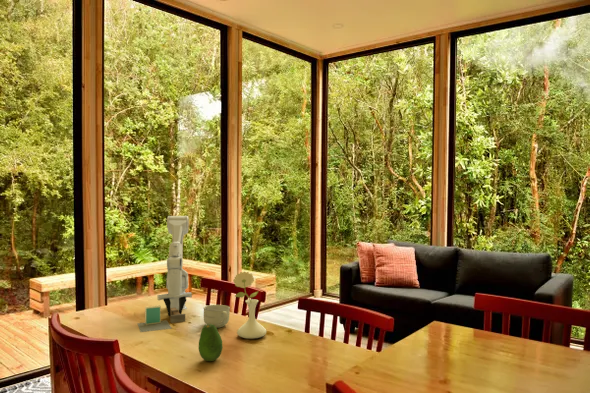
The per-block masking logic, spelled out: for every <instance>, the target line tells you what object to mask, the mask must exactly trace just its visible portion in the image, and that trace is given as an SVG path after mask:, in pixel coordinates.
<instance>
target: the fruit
mask: <svg viewBox="0 0 590 393" xmlns="http://www.w3.org/2000/svg"><path fill="white" fill-rule="evenodd" d="M218 330H219V329H218V328H216V327H215V326H214V325H212V324H208V325H207V324H205V325H204V326H203V327H202V329H201V331H200V335H199V339H198V352H199V356H200V357H201V359H203V361H207V362H214V361H217V360H218V359H219V358H220V356H221V355H222V351H223V340H222V336H221V334H220V333H219V331H218Z"/></svg>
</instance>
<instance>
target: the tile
mask: <svg viewBox="0 0 590 393" xmlns="http://www.w3.org/2000/svg"><path fill="white" fill-rule="evenodd" d="M144 311H145V312H144V313H145V314H144V323H145V324H156V323H161V321H162V320H161V316H162V315H161V313H162V312H161V311H162V310H161V305H151V306H145V308H144Z"/></svg>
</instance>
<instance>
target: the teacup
mask: <svg viewBox="0 0 590 393" xmlns="http://www.w3.org/2000/svg"><path fill="white" fill-rule="evenodd" d="M230 309H231V307H230V306H229V305H225V304H224V305H223V304H210V305H205V306H203V322H204V324H205V325H208V324H212V325H214V326H215V327H216V328H217V329H218V328H224V327H225V326H226V325H227V324H228V323H229V320H230V313H231V312H230Z"/></svg>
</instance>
